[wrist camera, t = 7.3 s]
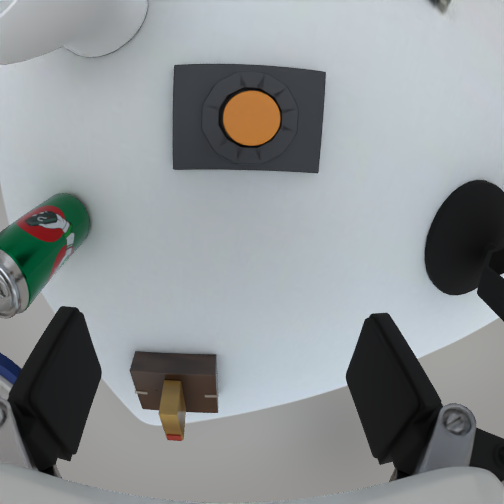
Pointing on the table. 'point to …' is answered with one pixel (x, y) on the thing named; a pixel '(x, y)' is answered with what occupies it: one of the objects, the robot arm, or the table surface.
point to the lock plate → (176, 379)
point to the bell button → (251, 118)
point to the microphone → (469, 244)
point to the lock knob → (173, 410)
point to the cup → (66, 26)
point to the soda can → (38, 249)
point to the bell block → (212, 108)
